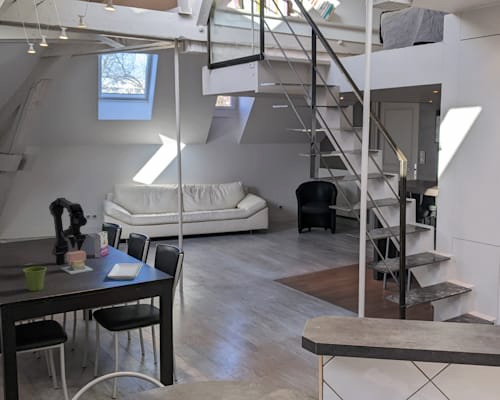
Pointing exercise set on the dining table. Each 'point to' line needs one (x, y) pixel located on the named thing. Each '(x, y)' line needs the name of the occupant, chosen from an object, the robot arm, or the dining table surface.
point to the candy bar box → (101, 244)
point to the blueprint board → (76, 270)
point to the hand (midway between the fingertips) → (76, 249)
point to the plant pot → (35, 277)
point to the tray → (125, 271)
